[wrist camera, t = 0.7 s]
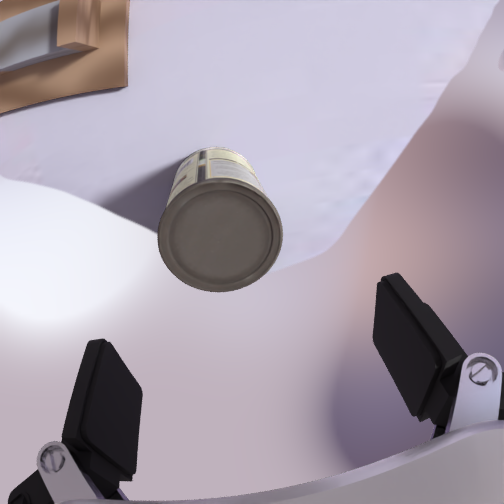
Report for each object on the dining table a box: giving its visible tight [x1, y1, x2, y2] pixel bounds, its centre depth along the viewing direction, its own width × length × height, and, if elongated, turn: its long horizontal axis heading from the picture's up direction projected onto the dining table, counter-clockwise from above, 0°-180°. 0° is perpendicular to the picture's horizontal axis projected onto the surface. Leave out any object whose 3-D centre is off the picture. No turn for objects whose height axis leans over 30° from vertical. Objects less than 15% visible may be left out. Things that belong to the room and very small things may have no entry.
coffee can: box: [158, 147, 283, 292], centre depth 32 cm, size 10×10×14 cm
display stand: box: [0, 0, 130, 114], centre depth 22 cm, size 16×20×8 cm
